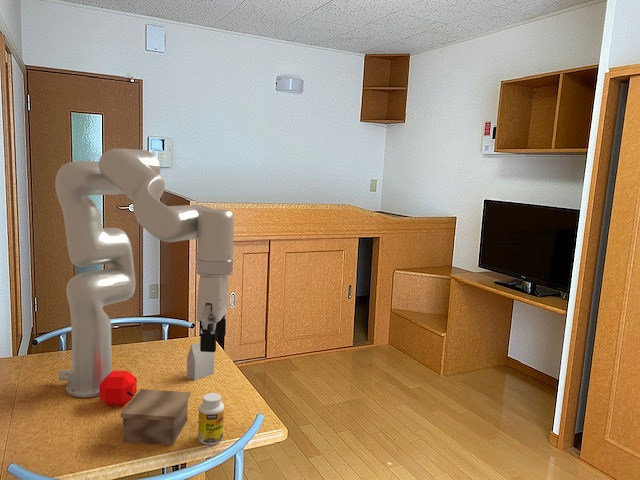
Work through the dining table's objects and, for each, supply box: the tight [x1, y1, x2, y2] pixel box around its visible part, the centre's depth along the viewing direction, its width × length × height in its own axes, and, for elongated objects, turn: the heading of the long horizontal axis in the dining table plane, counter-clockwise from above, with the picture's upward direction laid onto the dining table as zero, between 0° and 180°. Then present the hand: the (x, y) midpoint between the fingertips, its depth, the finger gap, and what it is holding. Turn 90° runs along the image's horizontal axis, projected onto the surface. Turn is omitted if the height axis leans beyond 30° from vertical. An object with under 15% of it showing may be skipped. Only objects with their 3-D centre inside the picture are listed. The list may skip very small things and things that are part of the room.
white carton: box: [186, 342, 215, 381], centre depth 145 cm, size 4×7×10 cm, turn 141°
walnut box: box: [120, 388, 191, 446], centre depth 115 cm, size 12×12×7 cm
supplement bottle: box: [197, 392, 225, 446], centre depth 113 cm, size 6×6×10 cm
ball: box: [98, 370, 138, 407], centre depth 127 cm, size 8×8×8 cm
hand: (213, 343), depth 110 cm, fingers open, 9 cm apart
